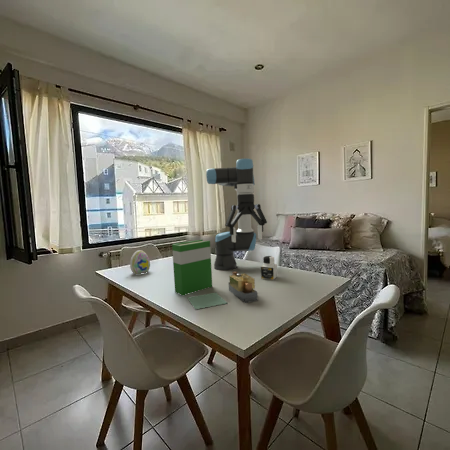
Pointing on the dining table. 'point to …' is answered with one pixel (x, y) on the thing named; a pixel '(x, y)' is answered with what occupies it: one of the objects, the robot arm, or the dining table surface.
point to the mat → (206, 300)
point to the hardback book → (192, 266)
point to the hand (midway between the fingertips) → (247, 240)
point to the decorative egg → (139, 262)
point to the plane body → (245, 295)
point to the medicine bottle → (268, 268)
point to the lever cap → (241, 281)
